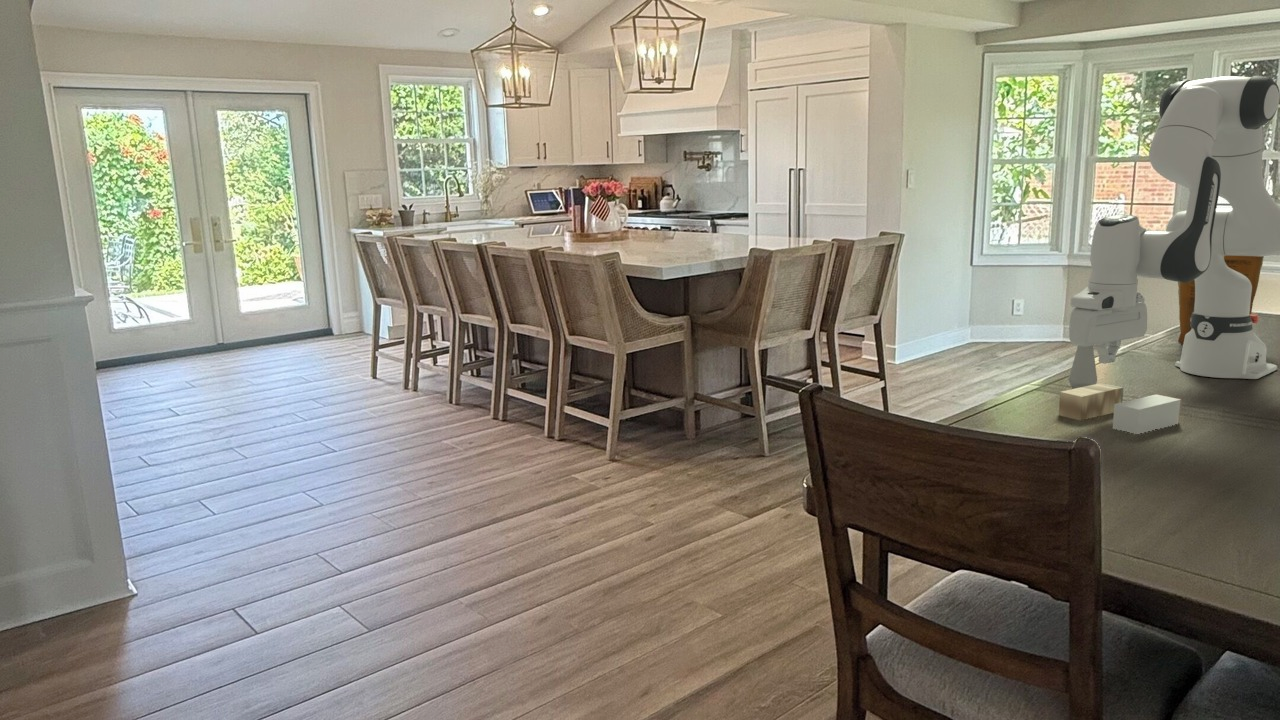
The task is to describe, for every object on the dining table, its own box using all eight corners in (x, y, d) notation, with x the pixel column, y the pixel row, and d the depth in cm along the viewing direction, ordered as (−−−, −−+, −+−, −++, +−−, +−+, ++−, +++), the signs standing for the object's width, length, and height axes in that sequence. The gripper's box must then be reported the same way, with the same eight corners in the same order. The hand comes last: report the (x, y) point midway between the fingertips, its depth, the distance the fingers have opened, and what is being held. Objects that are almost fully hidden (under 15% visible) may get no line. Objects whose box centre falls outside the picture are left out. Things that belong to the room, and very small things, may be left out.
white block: (1156, 394, 177) (1114, 404, 172) (1181, 399, 173) (1139, 409, 167) (1154, 418, 178) (1112, 428, 173) (1179, 424, 174) (1136, 435, 168)
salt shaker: (1099, 393, 198) (1103, 336, 196) (1071, 393, 200) (1075, 336, 197) (1092, 387, 204) (1096, 331, 201) (1065, 386, 205) (1068, 331, 202)
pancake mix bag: (1253, 351, 234) (1265, 244, 228) (1170, 344, 245) (1179, 243, 240) (1255, 346, 239) (1266, 242, 233) (1173, 340, 251) (1182, 241, 245)
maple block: (1101, 382, 188) (1060, 391, 182) (1123, 387, 183) (1081, 396, 178) (1099, 405, 189) (1058, 415, 183) (1121, 410, 184) (1080, 420, 179)
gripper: (1129, 289, 188) (1124, 353, 191) (1065, 299, 179) (1060, 366, 182) (1158, 293, 182) (1152, 358, 185) (1093, 302, 173) (1088, 371, 176)
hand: (1106, 362), depth 183 cm, fingers closed
